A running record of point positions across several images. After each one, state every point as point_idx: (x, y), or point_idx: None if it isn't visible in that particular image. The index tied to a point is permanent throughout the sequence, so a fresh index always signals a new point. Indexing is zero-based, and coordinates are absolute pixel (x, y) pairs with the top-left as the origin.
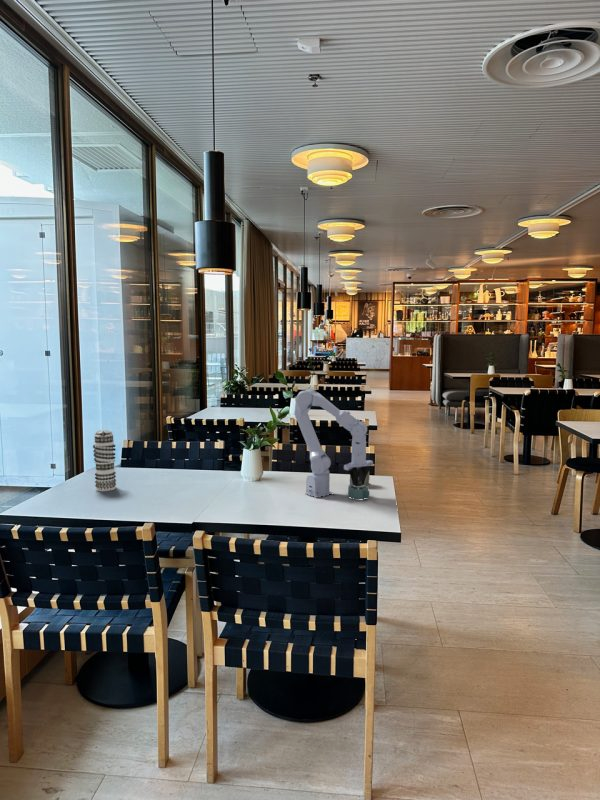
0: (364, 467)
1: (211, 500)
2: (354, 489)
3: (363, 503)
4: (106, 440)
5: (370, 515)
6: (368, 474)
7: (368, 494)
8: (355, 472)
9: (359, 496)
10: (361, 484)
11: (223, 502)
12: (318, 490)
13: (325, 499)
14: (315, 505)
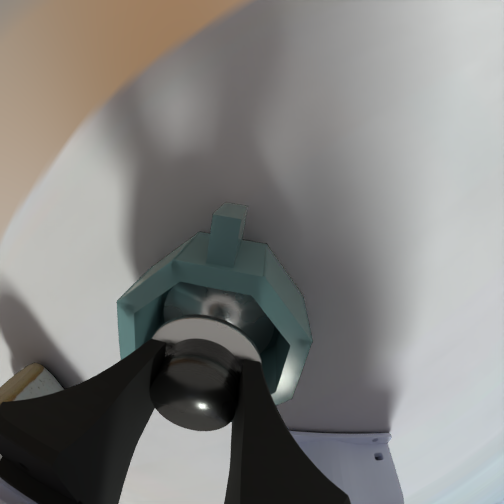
0: (51, 488)
1: (482, 488)
2: (303, 341)
3: (335, 184)
4: None
5: (486, 38)
6: (2, 395)
7: (230, 209)
8: (344, 500)
9: (279, 272)
10: (193, 346)
11: (493, 475)
12: (376, 464)
13: (389, 403)
14: (489, 363)
